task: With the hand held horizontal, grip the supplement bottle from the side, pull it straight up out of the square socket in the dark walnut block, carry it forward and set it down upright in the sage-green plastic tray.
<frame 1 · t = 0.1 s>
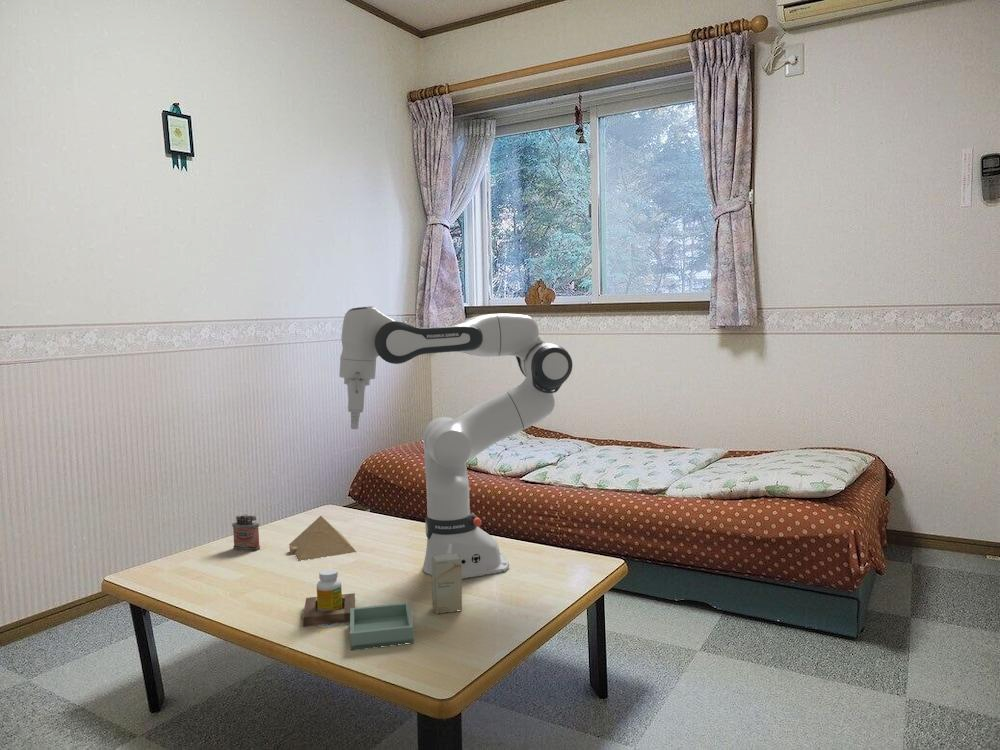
hand: (354, 425, 182), 39 cm above the table, tool pointing down, fingers open, 8 cm apart
tray: (381, 633, 152), on the table
supplement bottle: (330, 614, 163), resting in socket block
skincare box: (447, 609, 164), on the table
lighter: (246, 549, 208), on the table
socket block: (330, 613, 162), on the table
model pyramid: (321, 550, 208), on the table
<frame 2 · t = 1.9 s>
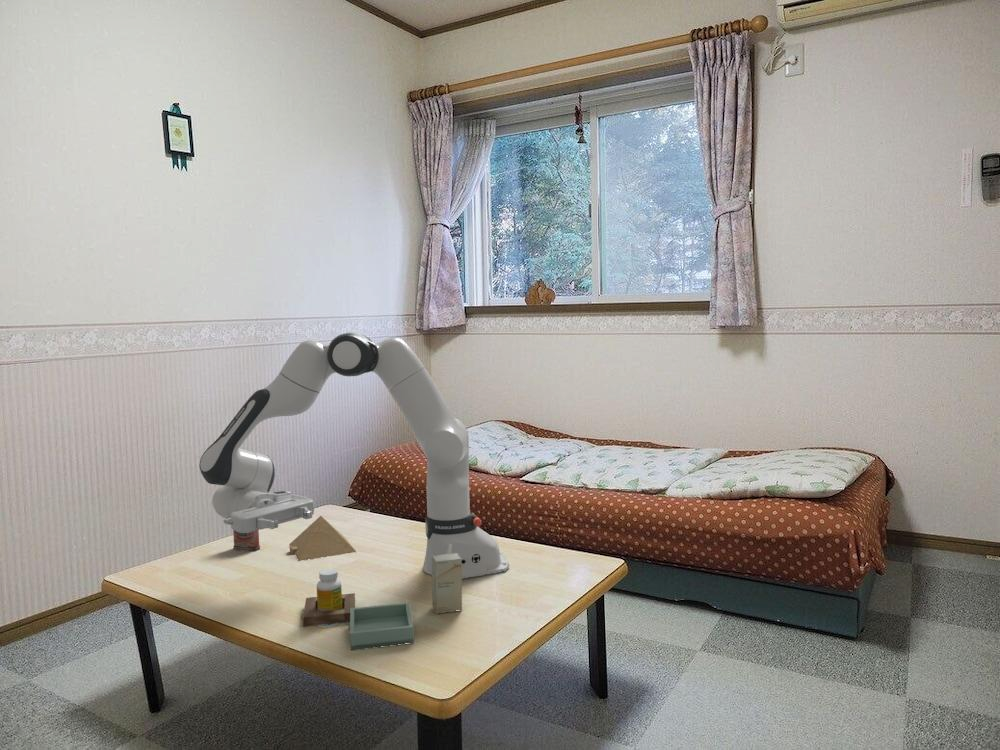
hand: (293, 520, 168), 19 cm above the table, tool horizontal, fingers open, 8 cm apart
nothing on the table moved.
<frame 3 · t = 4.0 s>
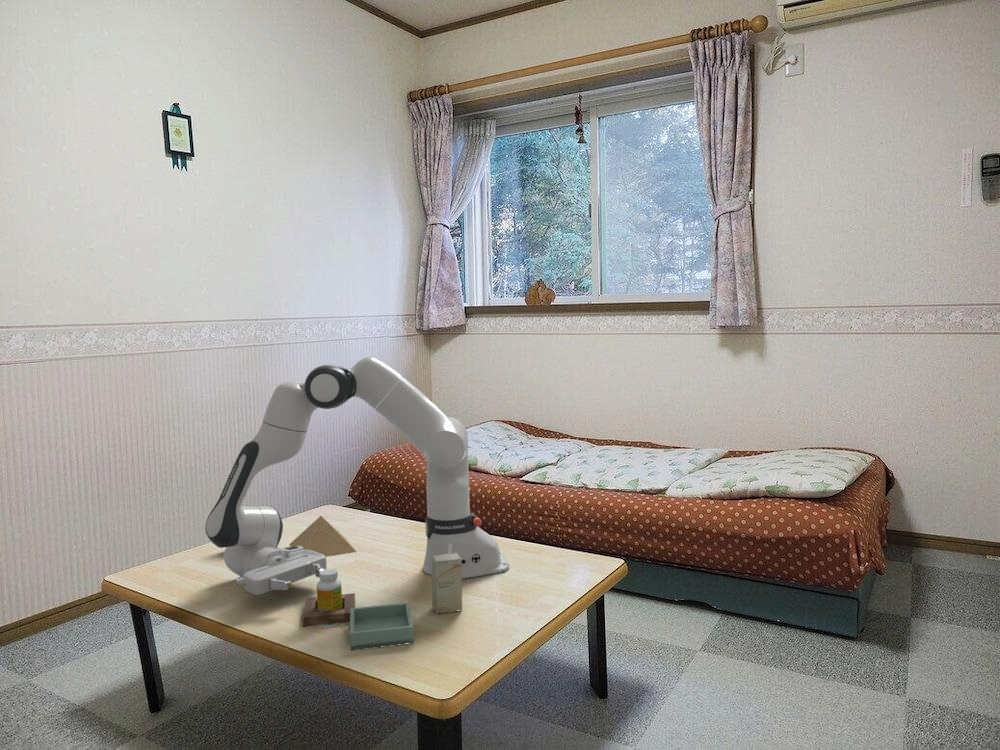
hand: (305, 579, 167), 6 cm above the table, tool horizontal, fingers open, 8 cm apart
nothing on the table moved.
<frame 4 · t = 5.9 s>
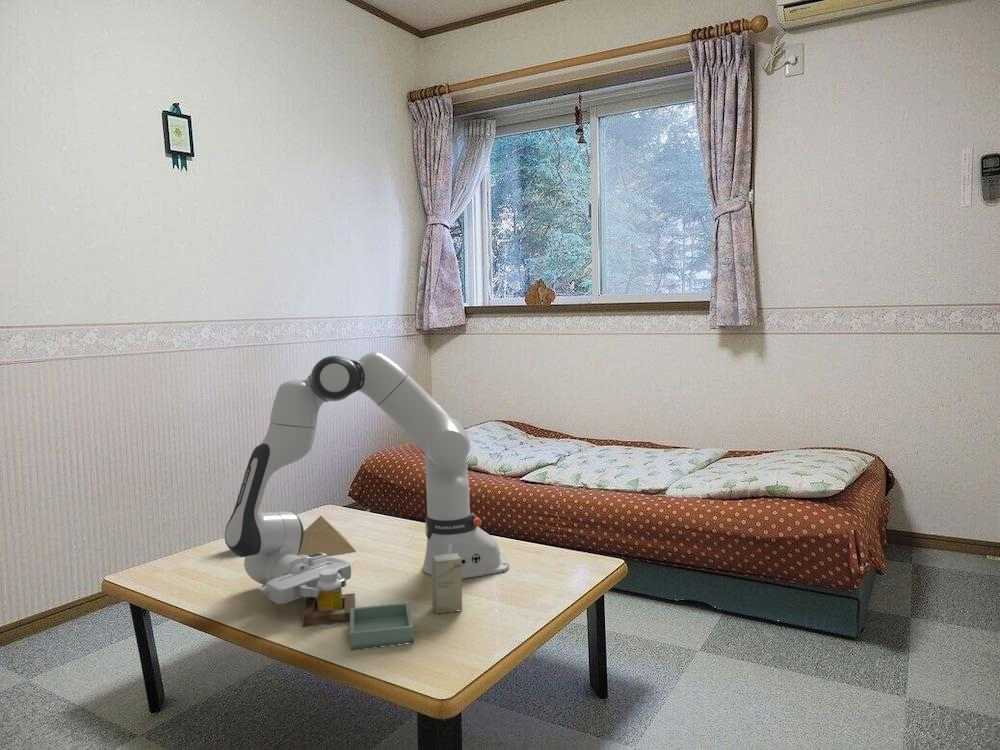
hand: (331, 588, 161), 6 cm above the table, tool horizontal, fingers closed on supplement bottle, 5 cm apart
supplement bottle: (330, 614, 163), resting in socket block, touching gripper
everything else where it was.
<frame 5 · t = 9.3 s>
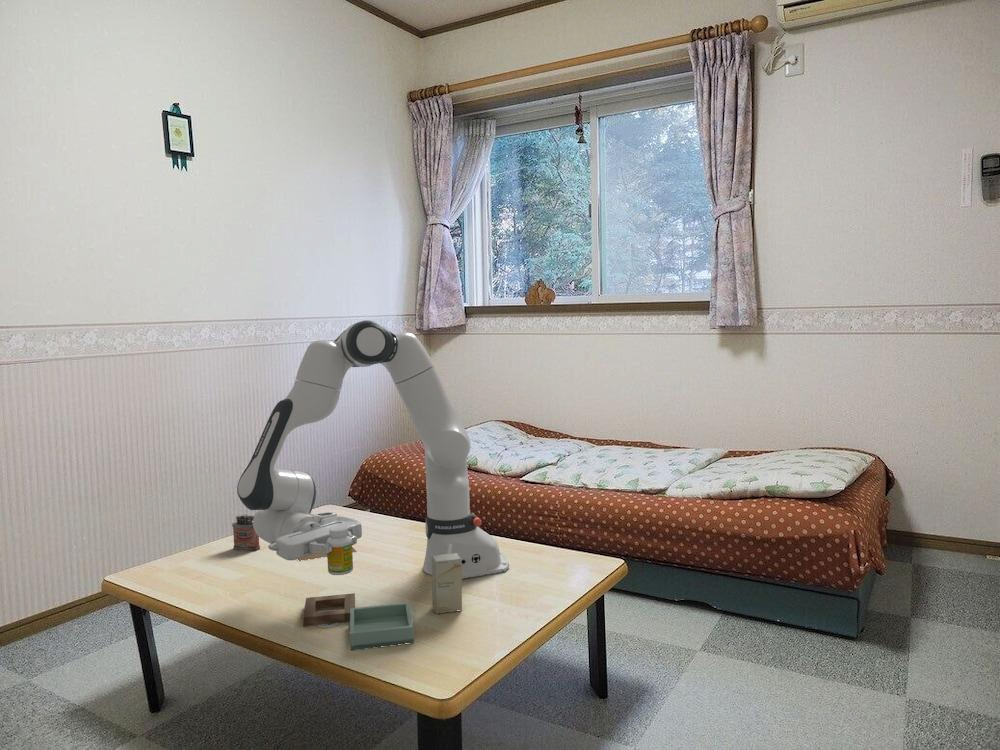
hand: (342, 545, 158), 17 cm above the table, tool horizontal, fingers closed on supplement bottle, 5 cm apart
supplement bottle: (340, 572, 159), point 10 cm above the table, touching gripper
everything else where it was.
when the fingers open (8 cm above the table, at t = 12.5 s): supplement bottle drops 1 cm, resting on tray.
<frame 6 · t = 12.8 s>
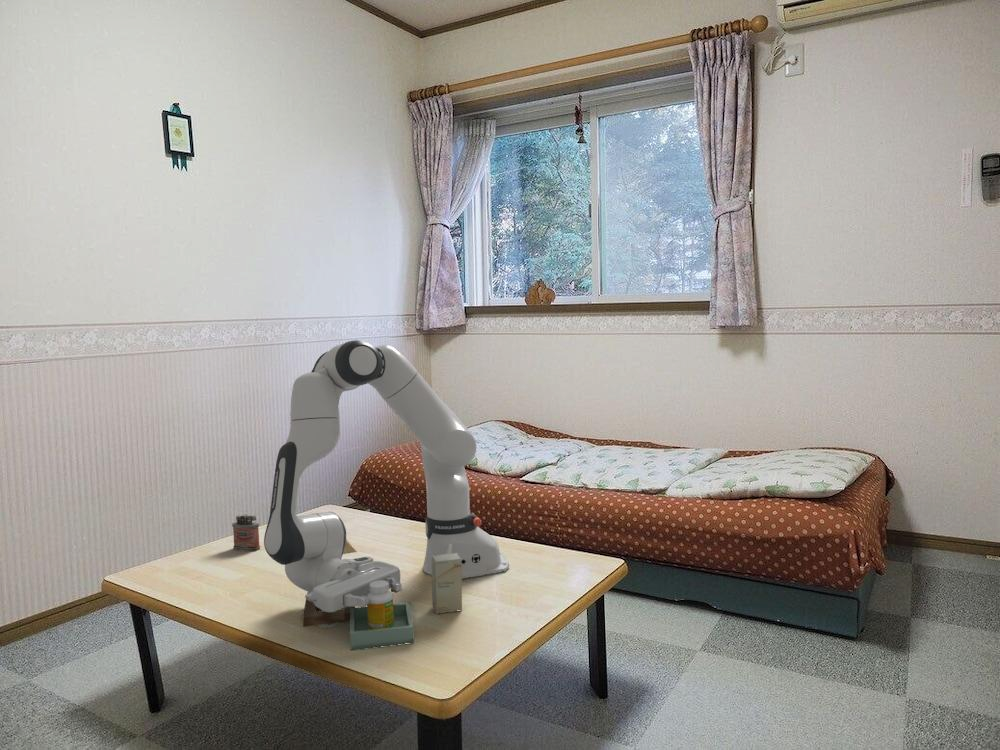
hand: (382, 595, 151), 8 cm above the table, tool horizontal, fingers open, 8 cm apart
supplement bottle: (381, 629, 152), point 1 cm above the table, touching tray
everything else where it was.
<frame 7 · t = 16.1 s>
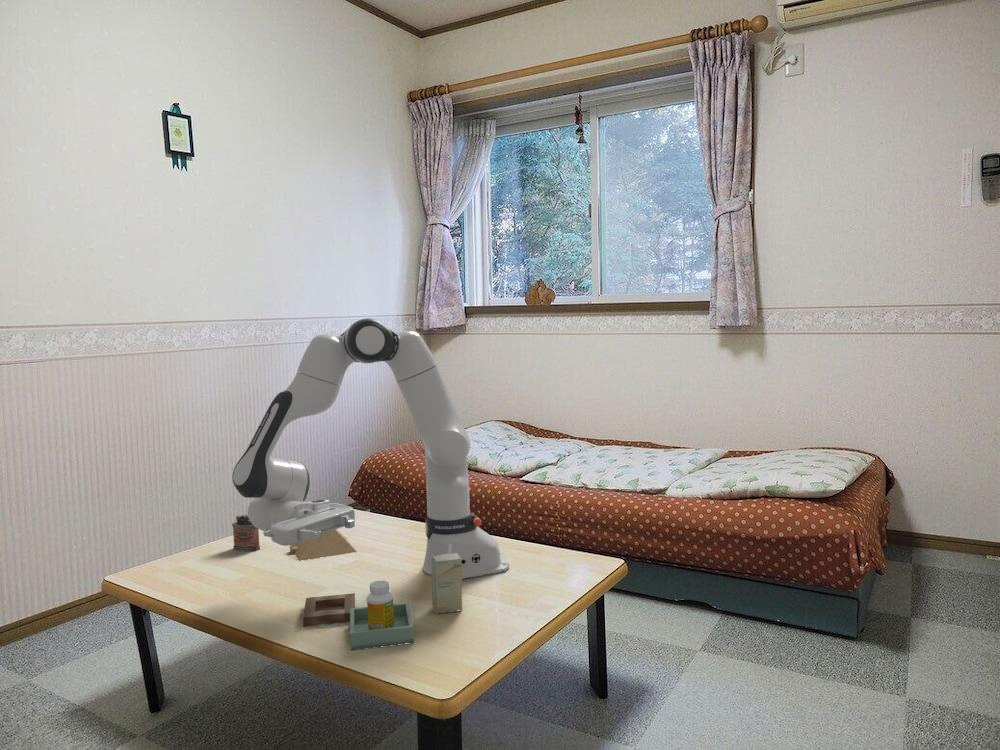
hand: (335, 529, 162), 19 cm above the table, tool horizontal, fingers open, 8 cm apart
nothing on the table moved.
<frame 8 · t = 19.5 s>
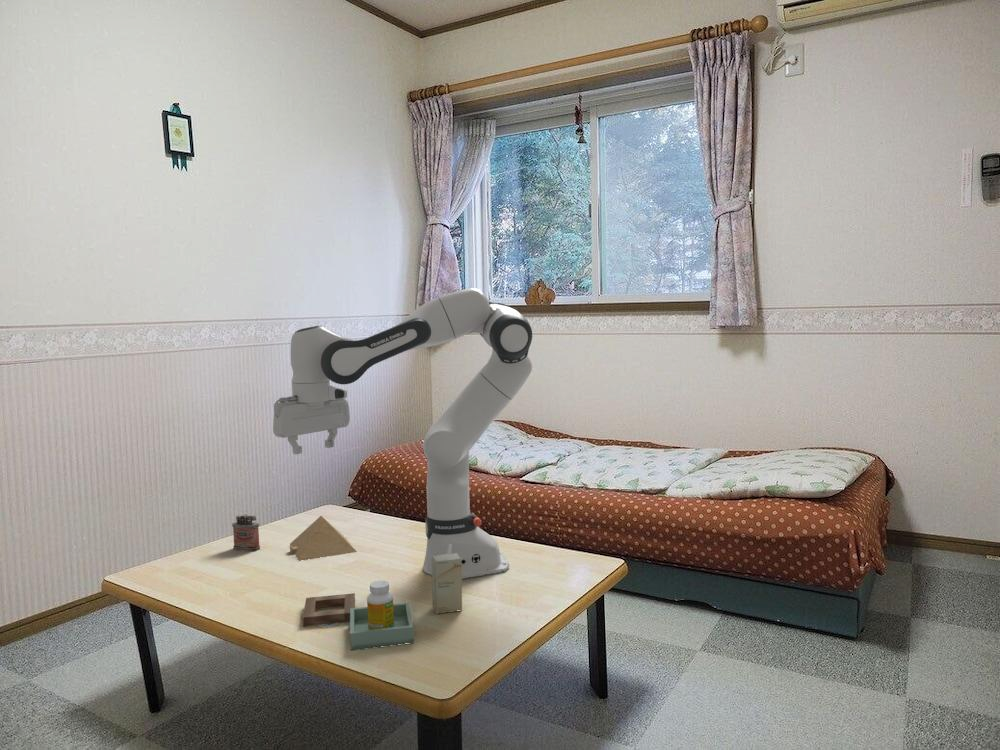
hand: (313, 450, 175), 34 cm above the table, tool pointing down, fingers open, 8 cm apart
nothing on the table moved.
at the end: supplement bottle inside the target area on the tray (0.0 cm from its centre), point 0.8 cm above the tray's base; supplement bottle tilted 0°; the gripper is holding nothing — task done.
